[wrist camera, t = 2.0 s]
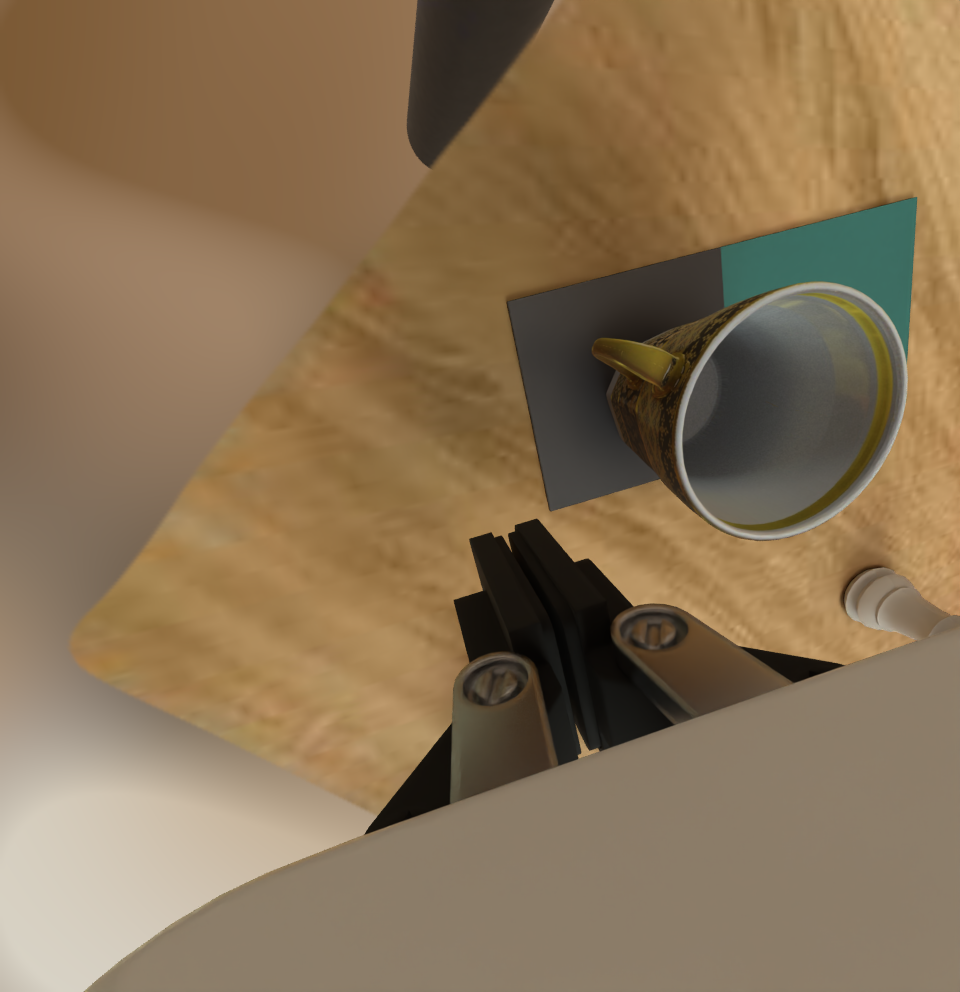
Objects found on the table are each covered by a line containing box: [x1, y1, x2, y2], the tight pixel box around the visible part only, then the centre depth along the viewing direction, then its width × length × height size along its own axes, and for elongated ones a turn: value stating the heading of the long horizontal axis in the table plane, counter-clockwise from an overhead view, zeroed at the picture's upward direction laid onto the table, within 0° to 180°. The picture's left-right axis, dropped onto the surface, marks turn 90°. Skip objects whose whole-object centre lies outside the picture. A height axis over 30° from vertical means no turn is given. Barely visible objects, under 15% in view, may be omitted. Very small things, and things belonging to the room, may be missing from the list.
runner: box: [507, 197, 917, 511], centre depth 29 cm, size 12×24×1 cm, turn 104°
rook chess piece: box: [844, 567, 960, 641], centre depth 32 cm, size 4×4×8 cm
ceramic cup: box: [592, 282, 908, 541], centre depth 23 cm, size 13×10×10 cm
